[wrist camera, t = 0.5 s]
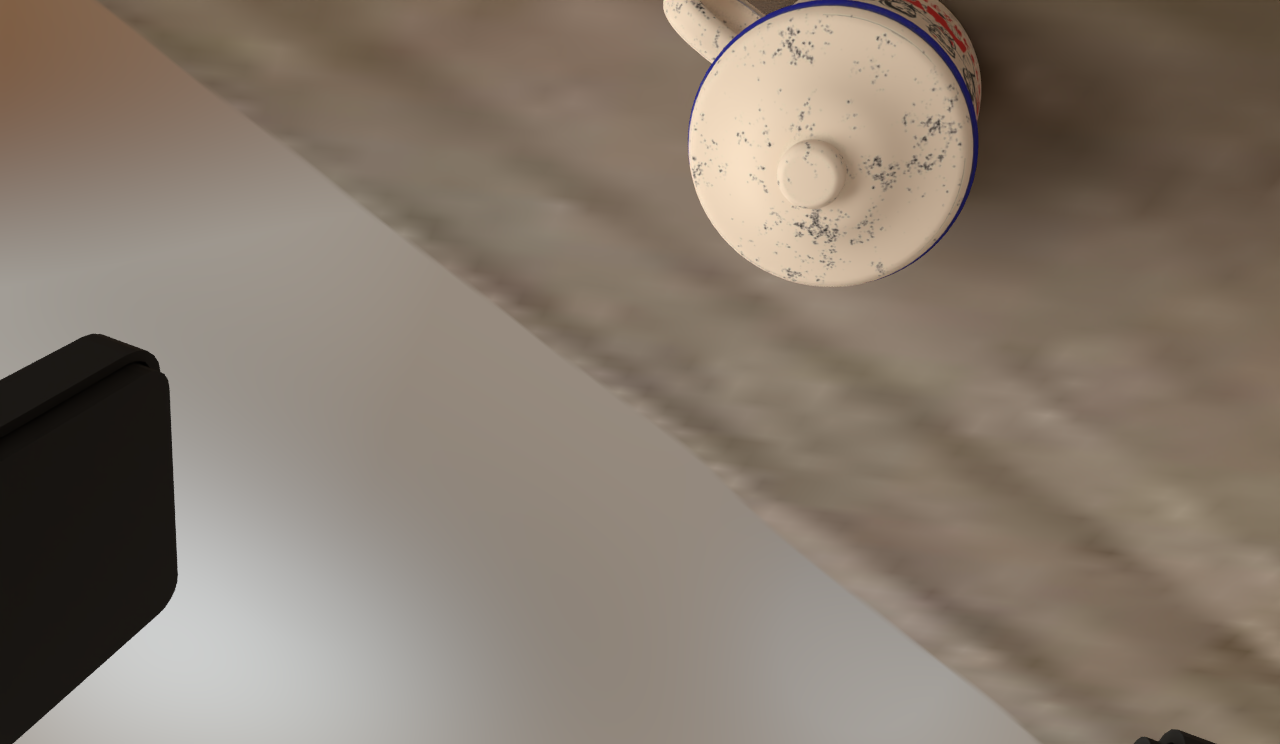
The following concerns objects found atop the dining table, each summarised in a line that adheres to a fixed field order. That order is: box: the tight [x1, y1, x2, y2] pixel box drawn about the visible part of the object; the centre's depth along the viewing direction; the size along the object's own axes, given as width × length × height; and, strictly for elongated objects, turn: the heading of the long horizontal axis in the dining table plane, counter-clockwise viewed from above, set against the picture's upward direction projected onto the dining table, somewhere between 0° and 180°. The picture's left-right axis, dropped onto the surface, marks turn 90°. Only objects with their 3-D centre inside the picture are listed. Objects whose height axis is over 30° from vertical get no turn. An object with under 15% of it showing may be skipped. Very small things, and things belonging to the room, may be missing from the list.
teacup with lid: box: [663, 0, 981, 287], centre depth 36 cm, size 12×9×12 cm
